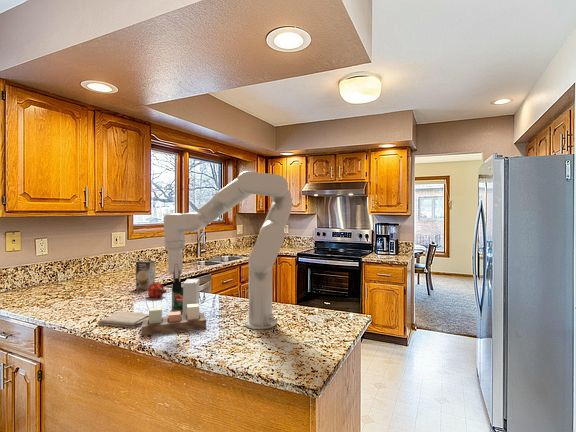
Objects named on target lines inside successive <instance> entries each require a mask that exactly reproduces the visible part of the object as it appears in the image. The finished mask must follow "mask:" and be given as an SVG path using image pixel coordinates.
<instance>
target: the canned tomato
mask: <svg viewBox="0 0 576 432" xmlns="http://www.w3.org/2000/svg"><path fill="white" fill-rule="evenodd" d="M171 310H172V311H173V312H177V311H180V312H183V283H181V292H175V293H173V284H172V285H171Z"/></svg>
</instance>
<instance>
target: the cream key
mask: <svg viewBox="0 0 576 432" xmlns="http://www.w3.org/2000/svg"><path fill="white" fill-rule="evenodd" d="M199 313H200V303H199V304H187V320H193V319H199Z"/></svg>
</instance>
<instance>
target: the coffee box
mask: <svg viewBox="0 0 576 432" xmlns="http://www.w3.org/2000/svg"><path fill="white" fill-rule="evenodd" d="M155 279H156V260H142V259H141V260H138V261H135V289H136V290H137V289H139V290H148V287H149V286H150V285H151V283H153V282H156V280H155Z"/></svg>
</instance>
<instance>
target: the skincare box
mask: <svg viewBox="0 0 576 432" xmlns="http://www.w3.org/2000/svg"><path fill="white" fill-rule="evenodd" d="M182 284H183V311H182V315H185V314H187V304H199V305H200V279H199V278H186V280H185V281H184V282H183V283H182Z"/></svg>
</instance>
